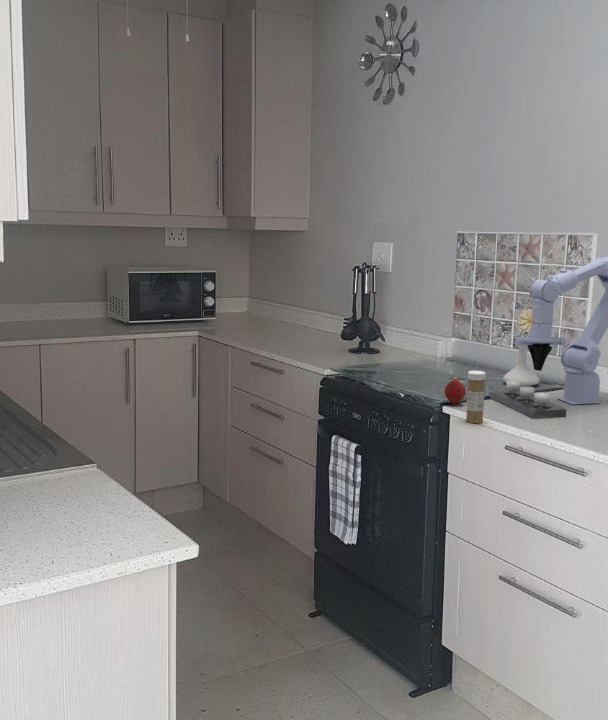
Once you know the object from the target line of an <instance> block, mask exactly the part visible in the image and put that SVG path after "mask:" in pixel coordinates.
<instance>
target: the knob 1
mask: <svg viewBox="0 0 608 720" xmlns="http://www.w3.org/2000/svg"><path fill="white" fill-rule="evenodd" d="M505 383H506V384H505V385H506V386H505V387H506V388H505V389H506V391H509V390H510V391H509V393H510V394H516V392H517V391H519V390H520V387H521V386H520V384H521V382H519V381H507V382H505Z"/></svg>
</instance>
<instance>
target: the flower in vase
mask: <svg viewBox="0 0 608 720" xmlns="http://www.w3.org/2000/svg"><path fill="white" fill-rule="evenodd" d="M531 319H532V308H531V309H530V308H527V309H526V310H522V313H520V314H519V317H517V320H516V322H518V323H517V325H518V328H519V330H520V329H521V330H522V331H525V332H527V333H528V332H531ZM516 332H518V330H516ZM518 334H519V335H520V336H522V337H526V336H525V335H523V334H522V333H520V332H518ZM528 337H530V335H529V336H528ZM516 347H517V349H518V362H517V364H516V366H515V367H514V368H512V369H511V370H509V371H508V372H507V373H505V374H504V375H503V377H502V380H503V381H504V382H505V383H506V382H507V381H519V382H521V384H520V387H522V386H529V387H531V386H535V385H536V384H539V383H540V382H541V380H540V378H539V376H538V375H537V374H536V373H534V371H533V370H531V369H530V368H529V366H528V364H527V355H528V351H529V349H528V345H516Z"/></svg>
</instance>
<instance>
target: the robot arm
mask: <svg viewBox="0 0 608 720" xmlns="http://www.w3.org/2000/svg"><path fill="white" fill-rule="evenodd" d="M595 276H596V277H598V279H599V282H600V283H601V285H602V286H603V287H604V291H605V292H604V293H603V295H602V297H601V298H600V300H599V302H598V304H597V306H596V308H595V309H594V311H593V313H592V314H591V317H590V318H589V320H588V322H587V323H586V325H585V328H584V329H583V330H582V333H581V335H580V336H579V337H577V338H576V339H574V340H572V341H570V343H569V345H568V346H567V347H565V348H564V349H563V351H562V352H561V354H560V363H561V365H562V366H563V370H564V371H565V373H564V386H563V387H564V388H563V396H557V399H558V400H560V401H561V402H565V403H567V404H570V405H573V406H574V405H589V404H600V403H601V401H600V400H599V399H600V387H601V378H600V375H599V374H598V373H597V372H596V371H595V370H596V369H597V367H598V366H599V359H600V357H601V355H602V351H601V350H600V347H599V344H600V342H601V341H602V338H603V336H604V335H605V333H606V332H607V330H608V255H602V256H600V257H596V258H594V260H593V261H591V262H590V261H589V262H588V263H586V264H585V265H583V266H580V267H578V268H576V269H575V270H570V269H566V268H565V269H564V268H562V269H560V270H559V272H558V273H557V274H554V275H548V276H546V278H545V279H537V280H535V281H534V282H533V283H532V285H531V286H530V288H529V290H528V294H529V296H530V298H531V305H532V307H531V309H532V319H531V332H530V334H529V336H530V337H529V336H525V337H524V336H522V337H515V342H514V345H516V346H517V345H528V352H529V353H530V356H531V359H532V366H533V370H534V371H538V372H539V371H542V370H543V367H544V364H545V362H546V359H547V357H548V356H549V354H550V353H551V351H552V349H553V347H552V346H555V345H556V346H557V345H558V346H565V342H566V338H564V337H559V336H558V337H554V336H552V331H553V330H552V329H553V317H554V304H555V302H556V301H557V299H558V298H559V296H560V295H563V294H564V293H566V292H567V293H568V292H569V291H571V290H574V289H576V288H577V286H578V283H579V282H582V281H585V280H588V279H590V278H593V277H595Z"/></svg>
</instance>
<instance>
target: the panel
mask: <svg viewBox="0 0 608 720" xmlns="http://www.w3.org/2000/svg"><path fill="white" fill-rule="evenodd" d="M509 391H510V390H491V391H489V398H490V399H491V400H493V401H495V402H498V403H499V404H502V405H503V406H506V407H508V408H510V409H512V410H515V411H516V412H519V413H520V414H523V415H524V416H527V417H529V418H531V419H545V418H546V419H549V418H550V419H551V418H564V417H567V409H566V408H564V407H561V406H559V405H557V404H554V403H552V402H550V401H549V403H545V407H539V406H538V403H536V402H534V396H533V397H530V400H523V396H520V390H519V391H517V392H516V394H510V393H509Z"/></svg>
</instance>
